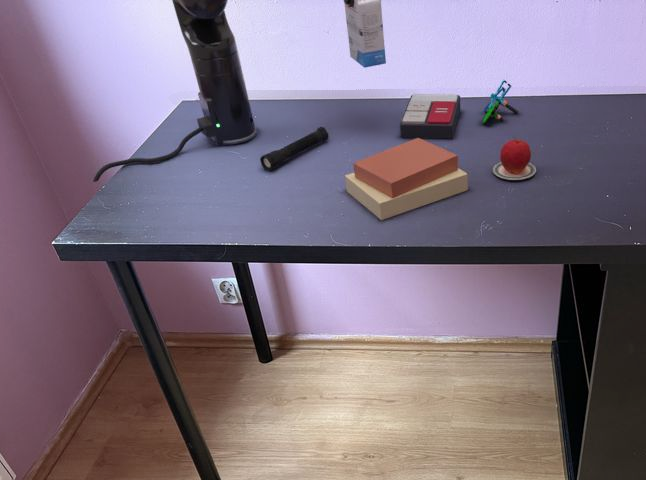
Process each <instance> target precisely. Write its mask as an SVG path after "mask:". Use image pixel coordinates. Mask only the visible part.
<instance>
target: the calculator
mask: <svg viewBox="0 0 646 480" xmlns="http://www.w3.org/2000/svg"><path fill="white" fill-rule="evenodd" d="M460 115H461V96H460V95H459V94H456V93H453V94H452V93H412V94H411V95H410V97H409V100H408V102H407V105H406V107H405V109H404V113H403V115H402V118H401V119H400V122H399V130H400V138H403V139H416V138H420V139H437V140H439V139H440V140H441V139H443V140H451V139H453V137H454V134H455V131H456V127H457V123H458V118H460Z"/></svg>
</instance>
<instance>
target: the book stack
mask: <svg viewBox="0 0 646 480" xmlns="http://www.w3.org/2000/svg"><path fill="white" fill-rule="evenodd" d="M458 156H459V155H458V154H455V153H453V152H451V151H449V150H447V149H444V148H442V147H440V146H437V145H436V144H433V143H431V142H429V141H427V140H424V139H423V138H413V139H411V140H409V141H405V142H403V143H401V144H399V145H396V146H393V147H391V148H388V149H386V150H383V151H380V152H378V153H375V154H372V155H370V156H367V157H364V158H362V159H360V160H357V161H354V162H353V163H352V165H353V172H352V173H348V174H345V175H344V180H345V186H346V192H347V193H348V194H349V195H351V197H352V198H354V199H355V200H356V201H357V202H359V204H361V205H362V206H363V207H364V208H366V209H367V210H368V211H370V212H371V213H372V214H373V215H374V216H375V217H376V218H378V219H379V220H380V221H383V220H387V219H389V218H392V217H395V216H399V215H400V214H401V215H402V214H403V213H404V214H405V213H406V212H409V211H412V210H415V209H418V208H421V207H424V206H426V205H429V204H432V203H435V202H438V201H441V200H443V199H446V198H450V197H452V196H455V195H458V194H461V193H464V192H467V191H469V190H468V189H469V182H468V181H469V174H468V173H467V172H465V171H464V170H463V169H460V167H459V159H458V158H459V157H458Z"/></svg>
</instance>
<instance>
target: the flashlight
mask: <svg viewBox="0 0 646 480" xmlns="http://www.w3.org/2000/svg"><path fill="white" fill-rule="evenodd" d="M327 140H329V132H328V131H327V129H326V128H325V127H324V126H320V127H317V129H316V130H315V131H313V132H311V133H308V134H307V135H305V136H303V137H301V138H299V139H297V140H295V141H293V142H291V143H288V144H287V145H285V146H284V147H282V148H280V149H276V150H273V151H270V152H268V153H266V154H265V153H264V154H263V155H261V157H260V159H259V160H260V164H261V166H262V168H263V169H264V170H265V171H266V172H270V171H272V170H274V169H275V168H277V167H279V166H280V165H282V164H283V163H284V162H285V161H286V160H288V159H290V158H292V157H294V156H296V155H298V154H300V153H303V152H304V151H306V150H308V149H310V148H312V147H314V146H315V145H318V144H319V143H321V142H326V141H327Z"/></svg>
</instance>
